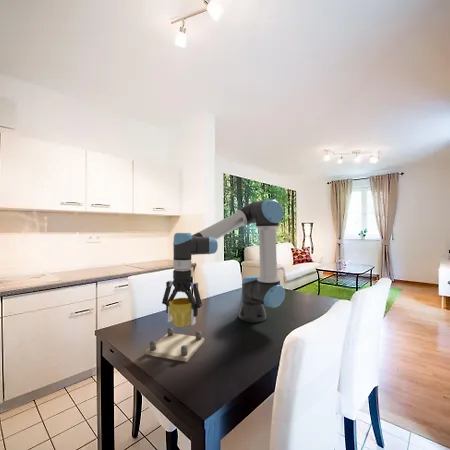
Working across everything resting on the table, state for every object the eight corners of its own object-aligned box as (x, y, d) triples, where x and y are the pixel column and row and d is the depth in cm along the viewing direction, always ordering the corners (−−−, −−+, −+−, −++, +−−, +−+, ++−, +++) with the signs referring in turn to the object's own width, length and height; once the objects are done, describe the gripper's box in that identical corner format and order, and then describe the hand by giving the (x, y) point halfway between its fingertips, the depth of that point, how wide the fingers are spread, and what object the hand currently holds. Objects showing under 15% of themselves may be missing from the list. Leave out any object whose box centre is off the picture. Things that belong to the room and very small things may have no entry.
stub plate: (204, 341, 113) (204, 331, 113) (186, 361, 96) (186, 349, 96) (168, 335, 118) (168, 326, 118) (145, 354, 101) (145, 343, 101)
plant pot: (163, 326, 103) (164, 302, 103) (177, 318, 113) (177, 296, 113) (185, 330, 99) (186, 306, 99) (198, 321, 109) (198, 299, 109)
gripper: (153, 269, 106) (153, 322, 106) (204, 272, 99) (203, 329, 99) (163, 266, 113) (162, 316, 113) (210, 269, 106) (210, 322, 106)
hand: (181, 322), depth 106 cm, fingers closed on plant pot, 10 cm apart
